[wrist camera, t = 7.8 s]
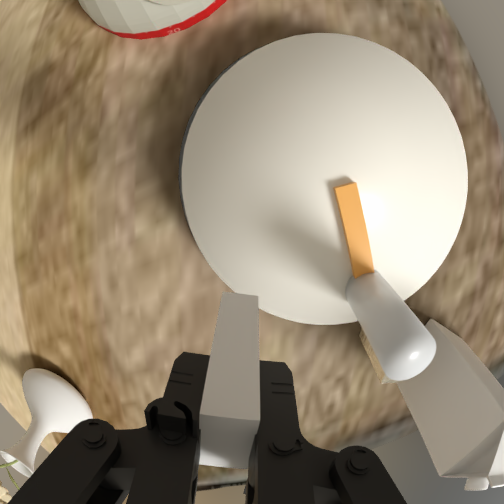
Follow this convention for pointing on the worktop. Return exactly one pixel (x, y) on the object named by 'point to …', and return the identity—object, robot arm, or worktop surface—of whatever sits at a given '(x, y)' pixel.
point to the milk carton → (459, 412)
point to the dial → (328, 187)
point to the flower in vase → (43, 419)
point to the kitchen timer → (148, 15)
